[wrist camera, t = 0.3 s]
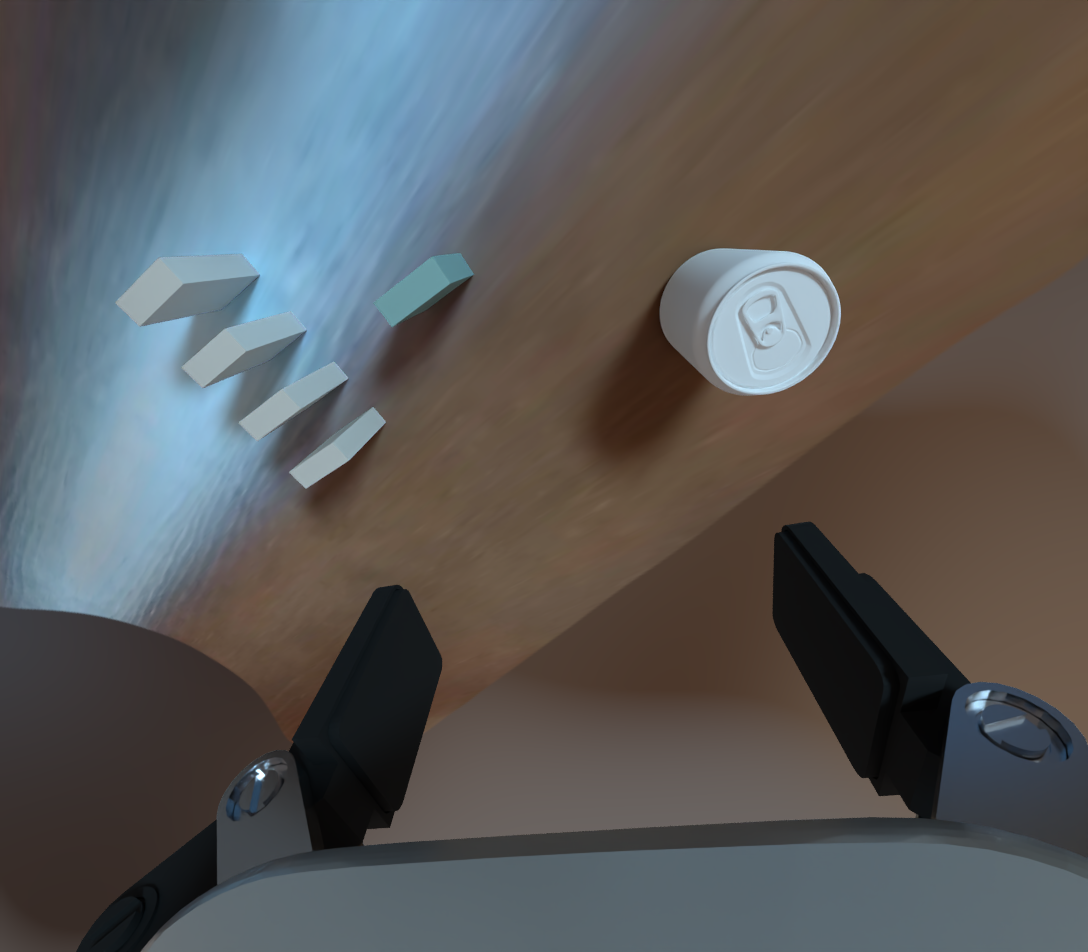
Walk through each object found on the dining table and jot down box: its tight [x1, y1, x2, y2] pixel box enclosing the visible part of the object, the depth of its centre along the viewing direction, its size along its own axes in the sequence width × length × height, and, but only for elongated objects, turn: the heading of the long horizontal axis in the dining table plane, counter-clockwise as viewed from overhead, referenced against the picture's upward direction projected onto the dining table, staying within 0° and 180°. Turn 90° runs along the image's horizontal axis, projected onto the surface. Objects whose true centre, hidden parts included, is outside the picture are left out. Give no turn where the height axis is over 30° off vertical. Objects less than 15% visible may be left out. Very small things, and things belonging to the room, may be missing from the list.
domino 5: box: [374, 253, 474, 327], centre depth 31 cm, size 2×5×8 cm, turn 122°
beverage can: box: [660, 249, 841, 395], centre depth 29 cm, size 8×8×12 cm
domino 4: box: [289, 407, 386, 488], centre depth 37 cm, size 2×5×8 cm, turn 122°
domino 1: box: [115, 254, 260, 326], centre depth 31 cm, size 2×5×8 cm, turn 122°
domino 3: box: [238, 362, 349, 441], centre depth 35 cm, size 2×5×8 cm, turn 122°
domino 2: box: [181, 311, 307, 388], centre depth 33 cm, size 2×5×8 cm, turn 122°
